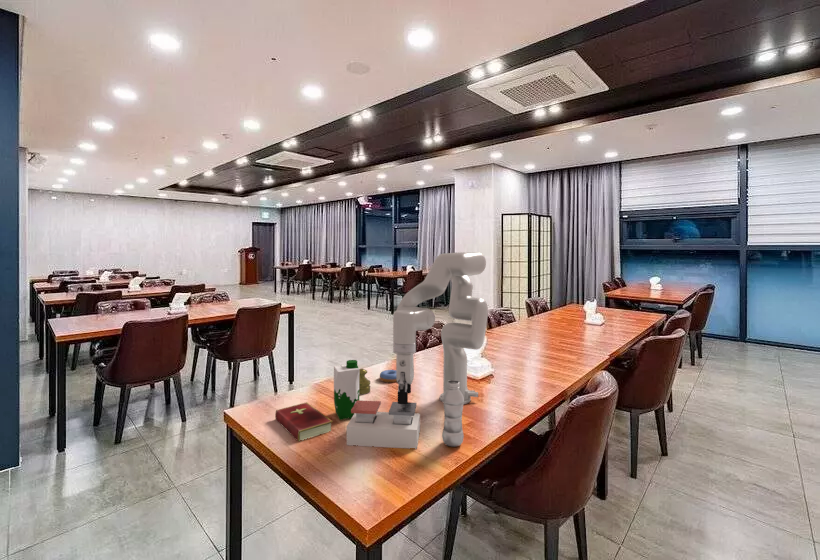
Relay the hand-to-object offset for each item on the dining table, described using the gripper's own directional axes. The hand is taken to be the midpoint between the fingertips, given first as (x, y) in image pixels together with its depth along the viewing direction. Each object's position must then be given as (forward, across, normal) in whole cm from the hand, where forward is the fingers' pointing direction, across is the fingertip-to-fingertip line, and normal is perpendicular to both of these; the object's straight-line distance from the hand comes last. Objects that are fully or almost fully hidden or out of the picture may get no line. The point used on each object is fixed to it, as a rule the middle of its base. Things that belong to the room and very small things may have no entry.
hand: (404, 398), depth 129 cm
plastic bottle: (+12, -7, -16) cm, 21 cm away
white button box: (+12, -5, +6) cm, 14 cm away
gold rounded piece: (+12, +35, +23) cm, 44 cm away
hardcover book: (+12, +1, +36) cm, 38 cm away
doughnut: (+12, +52, +13) cm, 55 cm away
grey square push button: (+8, -5, 0) cm, 9 cm away
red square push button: (+8, -5, +12) cm, 15 cm away
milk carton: (+12, +11, +23) cm, 28 cm away
